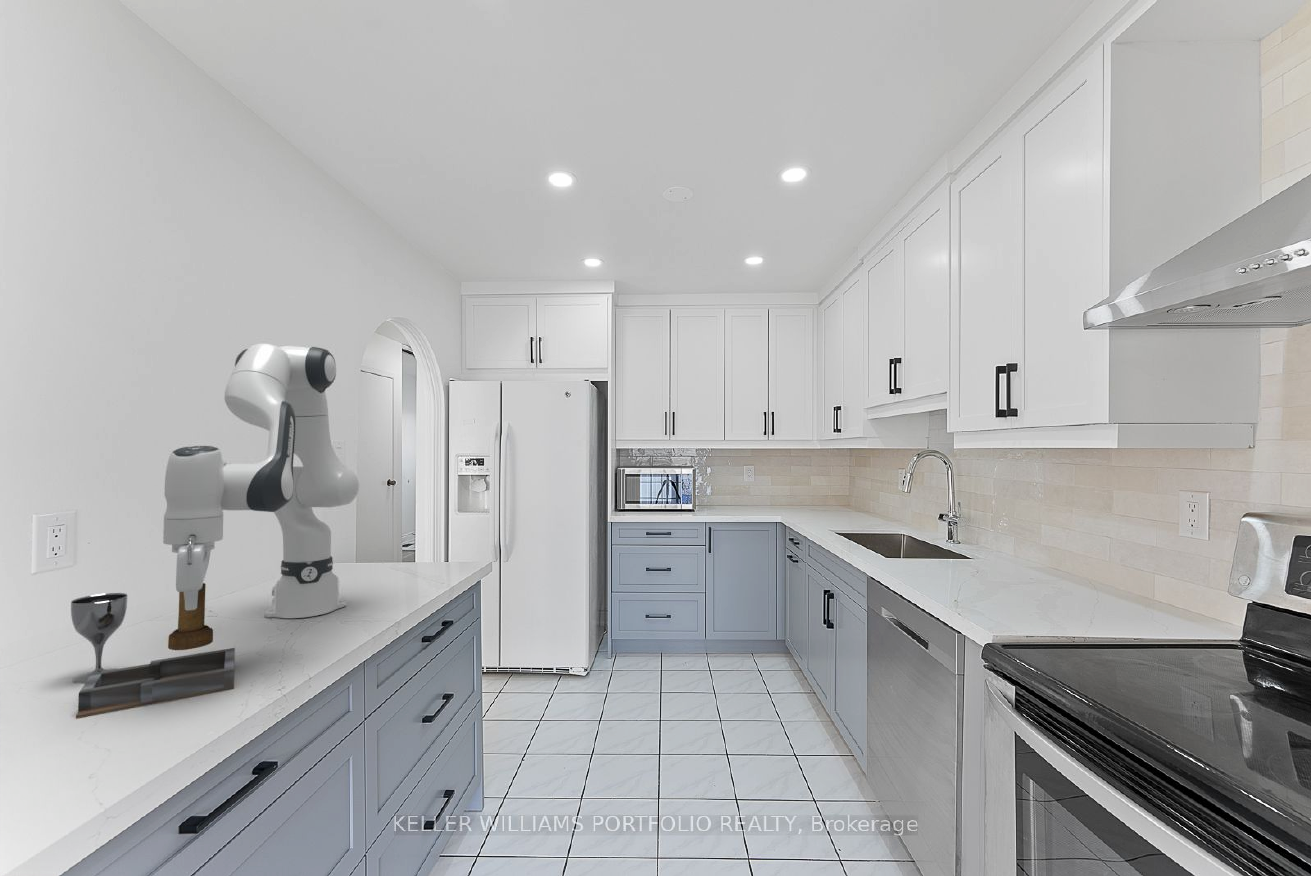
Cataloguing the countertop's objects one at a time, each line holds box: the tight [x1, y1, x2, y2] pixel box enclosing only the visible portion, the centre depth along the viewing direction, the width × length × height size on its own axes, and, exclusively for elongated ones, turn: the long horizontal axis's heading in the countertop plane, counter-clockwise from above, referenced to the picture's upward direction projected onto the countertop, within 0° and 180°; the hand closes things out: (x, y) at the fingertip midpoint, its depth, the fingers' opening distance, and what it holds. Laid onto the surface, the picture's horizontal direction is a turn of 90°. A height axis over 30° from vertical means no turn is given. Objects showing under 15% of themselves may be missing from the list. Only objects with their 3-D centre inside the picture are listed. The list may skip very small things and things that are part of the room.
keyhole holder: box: [75, 647, 236, 719], centre depth 108 cm, size 14×21×4 cm, turn 125°
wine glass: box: [70, 592, 128, 684], centre depth 114 cm, size 8×8×15 cm
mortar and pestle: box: [167, 563, 214, 651], centre depth 110 cm, size 7×6×18 cm
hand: (192, 606), depth 110 cm, fingers closed on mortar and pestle, 4 cm apart
